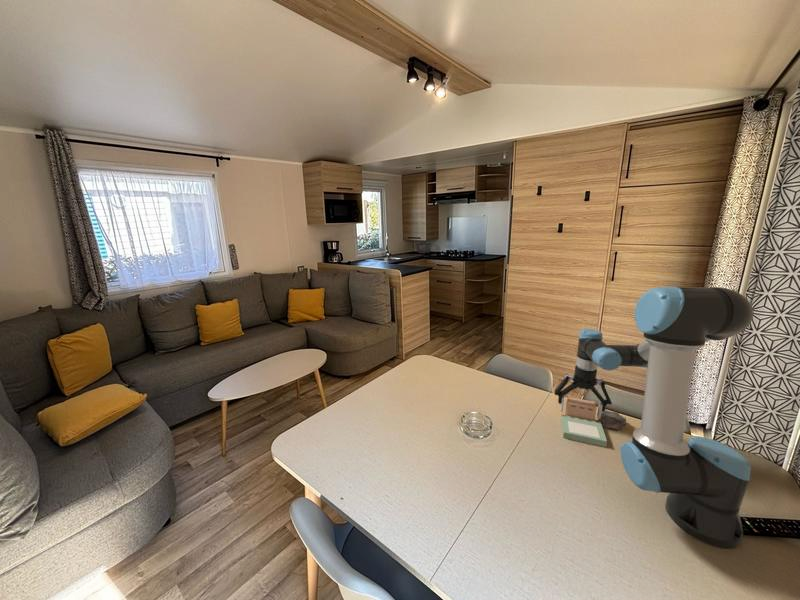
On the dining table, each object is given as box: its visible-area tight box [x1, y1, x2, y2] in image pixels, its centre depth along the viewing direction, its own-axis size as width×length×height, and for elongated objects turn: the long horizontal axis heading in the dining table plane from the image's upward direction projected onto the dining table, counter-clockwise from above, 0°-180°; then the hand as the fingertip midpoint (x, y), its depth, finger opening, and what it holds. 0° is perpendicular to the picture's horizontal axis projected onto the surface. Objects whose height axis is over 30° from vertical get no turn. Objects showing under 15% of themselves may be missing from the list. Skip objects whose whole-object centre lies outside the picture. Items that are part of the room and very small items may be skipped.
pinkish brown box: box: [564, 396, 598, 421], centre depth 129 cm, size 5×10×8 cm, turn 67°
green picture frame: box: [560, 414, 608, 448], centre depth 121 cm, size 12×14×3 cm
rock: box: [596, 409, 627, 430], centre depth 127 cm, size 9×11×4 cm
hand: (579, 413), depth 129 cm, fingers open, 13 cm apart
